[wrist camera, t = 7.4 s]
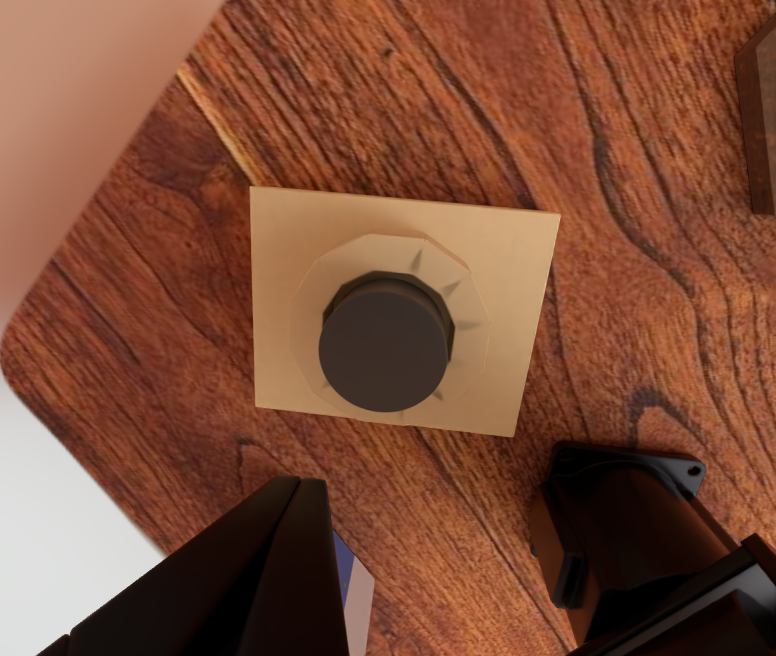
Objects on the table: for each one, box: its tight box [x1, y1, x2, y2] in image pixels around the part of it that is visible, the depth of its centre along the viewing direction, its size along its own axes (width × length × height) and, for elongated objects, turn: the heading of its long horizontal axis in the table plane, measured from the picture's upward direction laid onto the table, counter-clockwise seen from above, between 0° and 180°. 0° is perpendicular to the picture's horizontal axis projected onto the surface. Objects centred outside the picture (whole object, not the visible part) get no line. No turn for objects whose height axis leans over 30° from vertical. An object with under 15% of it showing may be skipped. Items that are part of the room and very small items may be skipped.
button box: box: [250, 186, 561, 437], centre depth 16 cm, size 11×9×4 cm
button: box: [318, 278, 448, 413], centre depth 14 cm, size 4×4×2 cm
